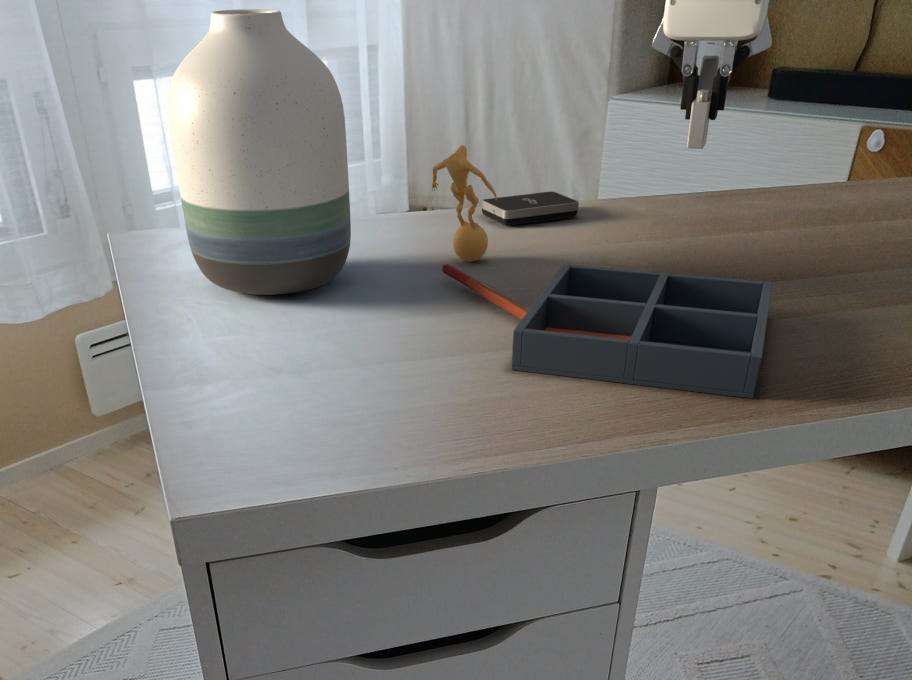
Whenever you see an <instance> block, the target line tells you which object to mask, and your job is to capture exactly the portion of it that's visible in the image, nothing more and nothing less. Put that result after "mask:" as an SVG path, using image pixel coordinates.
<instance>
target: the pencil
mask: <svg viewBox="0 0 912 680" xmlns="http://www.w3.org/2000/svg"><path fill="white" fill-rule="evenodd" d="M441 271H442V273H443V274H444V275H446V276H448V277H449V278H451V279H453V280H454V281H456V282H458V283H459V284H461V285H463V286H464V287H466V288H467V289H469V290H471V291H473V292H474V293H476V294H478V295H479V296H481V297H483V298H484V299H486V300H487V301H488V302H489V301H490V302H491V303H493V304H494V305H496V306H498V307H500V308H502V309H503V310H505V311H506V312H508V313H509V314H511V315H513V316H515V318H518V319H520V321H521V320H522V319H523V318H524V316H525V315H526V314H527V312H528V311H529V310H530V309H527V308H526V307H524V306H522V305H521V304H519V303H517V302H515V301H514V300H512V299H510V298H509V297H507V296H505V295H503V294H502V293H499V292H498V291H497V290H495V289H493V288H491V287H490V286H487V285H486V284H484V283H482V282H481V281H479V280H477V279H475V278H473V277H472V276H470V275H468V274H467V273H465V272H463V271H462V270H460V269H458V268H456V267H454V266H452V265H451V264H449V263H446V264H444V265H443V266H442V268H441Z"/></svg>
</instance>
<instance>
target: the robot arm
mask: <svg viewBox="0 0 912 680" xmlns="http://www.w3.org/2000/svg"><path fill="white" fill-rule="evenodd" d="M769 6H770V0H665V4H664V12H663V18H662V20H661V22H660V24H659V25H658V29H657V31H656V33H655V35H654V37H653V39H652V42H651V47H652V48H653V50H655V51H657V52H659V53H661V54H663V55H665V56H667V57H669V58H671V60H672V61H673V62H674V64H676V66H677V67H678V68H679V70H680V71H681V74H682V76H683V84H682V92H681V101H680V110H681V111H685V114H684V120H689V121H690V116H691V108H692V102H693V101H694V100H695V99H696V95H697V89H698V83H699V77H700V74H699V68H698V67H699V66H697V62H698V54H699V47H700V46H699V45H700V42H701V41H703V42H704V41H705V42H706V41H723V47H722V52H721V53H722V54H721V62H720V65H719V68H718V70H717V75H716V76H715V77H714V80H713V88H712V95H711V102H710V110H709V117H708V119H709V121H716V119H717V118H718V113H719V111H725V106H726V101H727V95H728V93H727V92H728V86H729V80H730V75H731V74H732V73H733V72H734V71H735V70H736V69H737V68H738V67H739V66H741V64H743V62H744V61H746V59H748V58H750V57H753V56H755V55H758V54H761V53H762V52H764V51H767V50H768V49H770V48H771V46H772V44H773V40H772V35H771V34H772V33H771V28H770V23H769V18H768V17H769V16H768V12H769ZM754 38H755V39H754ZM751 39H753V40H752V41H749V42H747V43H745V44H742V45H741V46H739V48H738V42H739V41H747V40H751ZM673 40H675V41H684V46H682V45H681V44H679V43H677V42H674V41H673ZM737 48H738V49H737Z"/></svg>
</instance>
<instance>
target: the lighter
mask: <svg viewBox="0 0 912 680" xmlns="http://www.w3.org/2000/svg"><path fill="white" fill-rule="evenodd" d="M719 68H720V56H719V55H704V56H702V60H701V65H700V72H699V75H700V77H699V83H698V89H697V95H696V99H695V100H694V101H693V102H692V108H691V116H690V120H689V124H688V131H687V140H686V148H685V149H688V150H703V149H704V147H705V146H706V144H707V140H708V132H709V126H710V119H708V117H709V110H710V102H711V95H712V88H713V80H714V77H715V76H716V75H717V70H718V69H719Z"/></svg>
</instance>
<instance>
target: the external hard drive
mask: <svg viewBox="0 0 912 680" xmlns="http://www.w3.org/2000/svg"><path fill="white" fill-rule="evenodd" d="M579 203H580V201H579V200H577V199H574V198H572V197H569V196H567V195H564V194H561V193H559V192H556V191H550V190H549V191H542V192H533V193H524V194H516V195H508V196H507V195H506V196H499V197H497V201H496V199H495V197H491V198H483V199H481V212H482V215H484V216H485V217H488V218H490V220H491V219H492V220H494V221H496V222H497V223H500V224H502V225H504V226H508V227H511V226H512V227H513V226H515V225H524V224H532V223H539V222H547V221H555V220H561V219H564V220H565V219H570V218H571V219H572V218H574V217H576V216H577V215H578V213H579Z"/></svg>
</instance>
